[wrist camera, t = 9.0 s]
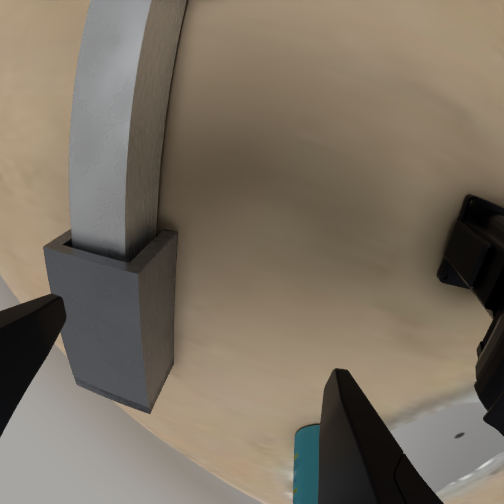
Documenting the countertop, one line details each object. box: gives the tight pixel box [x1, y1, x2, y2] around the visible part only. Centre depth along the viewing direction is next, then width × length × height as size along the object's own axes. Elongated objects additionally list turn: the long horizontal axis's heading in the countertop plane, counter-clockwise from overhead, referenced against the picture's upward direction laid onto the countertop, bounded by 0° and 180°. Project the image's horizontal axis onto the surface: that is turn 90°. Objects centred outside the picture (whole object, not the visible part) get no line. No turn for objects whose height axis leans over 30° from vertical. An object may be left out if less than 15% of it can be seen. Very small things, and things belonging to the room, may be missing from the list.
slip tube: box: [69, 0, 187, 263], centre depth 15 cm, size 4×22×4 cm, turn 170°
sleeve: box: [43, 229, 178, 414], centre depth 21 cm, size 7×13×6 cm, turn 171°
